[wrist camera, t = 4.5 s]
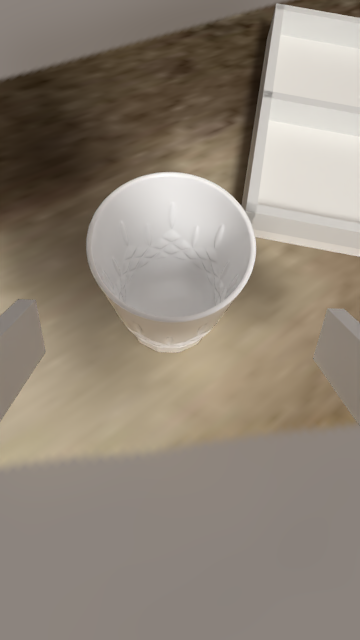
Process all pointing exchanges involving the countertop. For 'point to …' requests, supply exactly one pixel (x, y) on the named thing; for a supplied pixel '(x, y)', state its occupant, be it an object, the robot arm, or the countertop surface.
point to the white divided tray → (307, 133)
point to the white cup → (170, 256)
